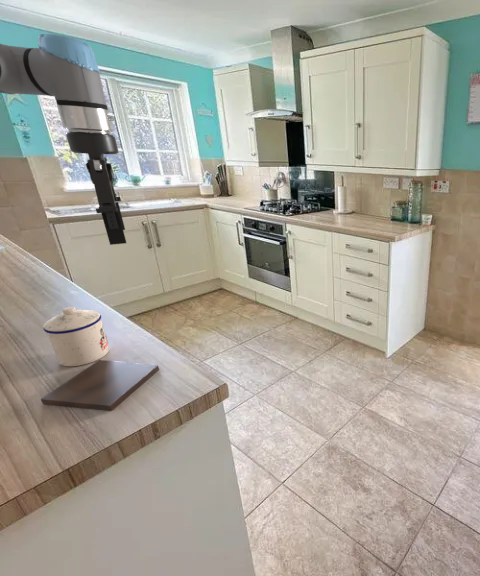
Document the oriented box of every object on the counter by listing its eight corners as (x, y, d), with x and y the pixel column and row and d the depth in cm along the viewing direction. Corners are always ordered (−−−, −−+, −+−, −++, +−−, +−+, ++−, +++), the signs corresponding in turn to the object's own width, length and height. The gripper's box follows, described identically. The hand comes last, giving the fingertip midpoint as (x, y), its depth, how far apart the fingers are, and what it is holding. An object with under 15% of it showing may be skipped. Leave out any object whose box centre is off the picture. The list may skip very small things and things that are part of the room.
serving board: (42, 404, 59) (40, 399, 58) (100, 364, 70) (99, 359, 69) (111, 410, 58) (109, 405, 58) (159, 369, 69) (158, 365, 69)
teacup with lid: (116, 355, 73) (102, 308, 68) (61, 373, 66) (41, 323, 62) (102, 335, 80) (88, 292, 75) (51, 350, 73) (32, 303, 69)
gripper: (113, 133, 58) (141, 248, 66) (114, 134, 76) (136, 224, 84) (56, 129, 54) (93, 252, 62) (71, 131, 72) (98, 226, 80)
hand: (118, 236), depth 73 cm, fingers open, 13 cm apart
